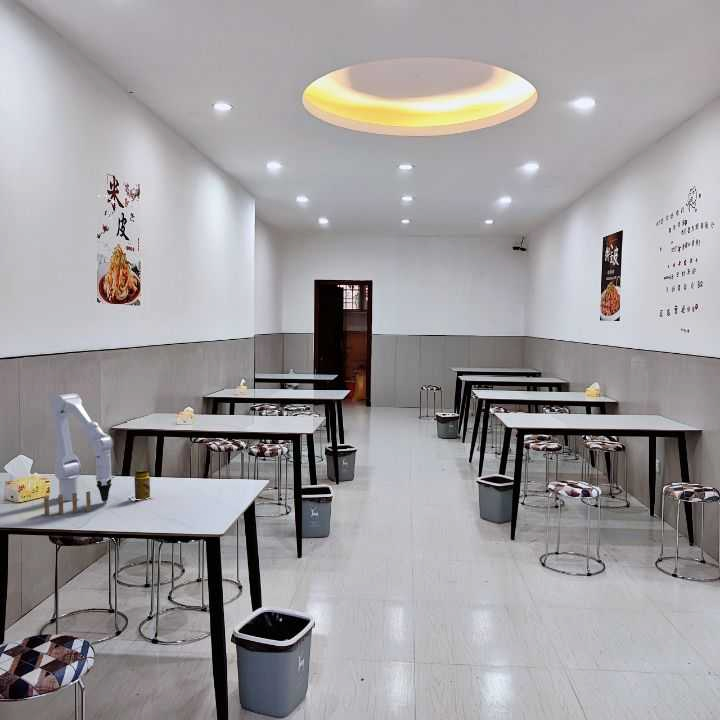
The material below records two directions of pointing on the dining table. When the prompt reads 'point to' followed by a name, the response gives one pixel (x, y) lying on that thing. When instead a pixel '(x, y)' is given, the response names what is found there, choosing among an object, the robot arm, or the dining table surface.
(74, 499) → the domino
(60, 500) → the domino
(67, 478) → the robot arm
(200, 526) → the dining table surface
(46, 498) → the domino
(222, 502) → the dining table surface
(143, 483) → the condiment
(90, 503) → the domino
